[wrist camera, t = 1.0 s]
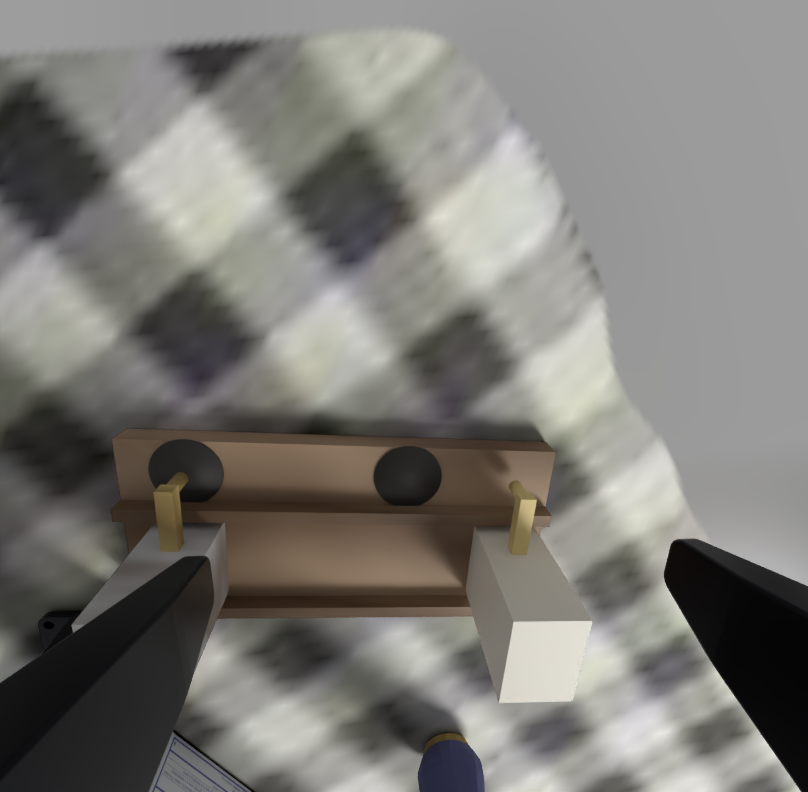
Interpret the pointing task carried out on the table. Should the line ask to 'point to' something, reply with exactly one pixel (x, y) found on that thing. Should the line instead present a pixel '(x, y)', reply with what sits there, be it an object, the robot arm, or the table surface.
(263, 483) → the wooden peg rack
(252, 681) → the table surface
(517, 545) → the slider
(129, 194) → the table surface
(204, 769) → the medicine box
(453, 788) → the rubber mallet
